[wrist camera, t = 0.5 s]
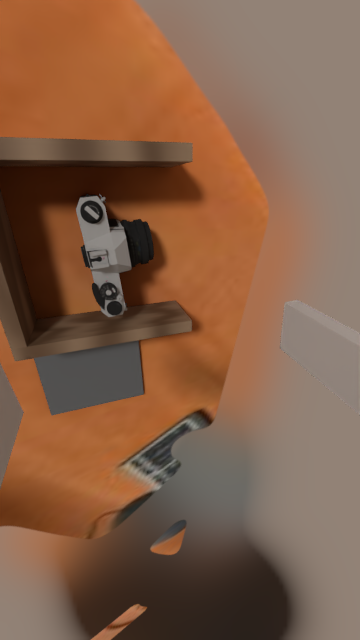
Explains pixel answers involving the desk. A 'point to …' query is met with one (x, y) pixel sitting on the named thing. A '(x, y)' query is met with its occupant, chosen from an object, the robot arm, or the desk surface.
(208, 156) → the desk surface
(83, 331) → the cubby
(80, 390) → the mat
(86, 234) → the camera
